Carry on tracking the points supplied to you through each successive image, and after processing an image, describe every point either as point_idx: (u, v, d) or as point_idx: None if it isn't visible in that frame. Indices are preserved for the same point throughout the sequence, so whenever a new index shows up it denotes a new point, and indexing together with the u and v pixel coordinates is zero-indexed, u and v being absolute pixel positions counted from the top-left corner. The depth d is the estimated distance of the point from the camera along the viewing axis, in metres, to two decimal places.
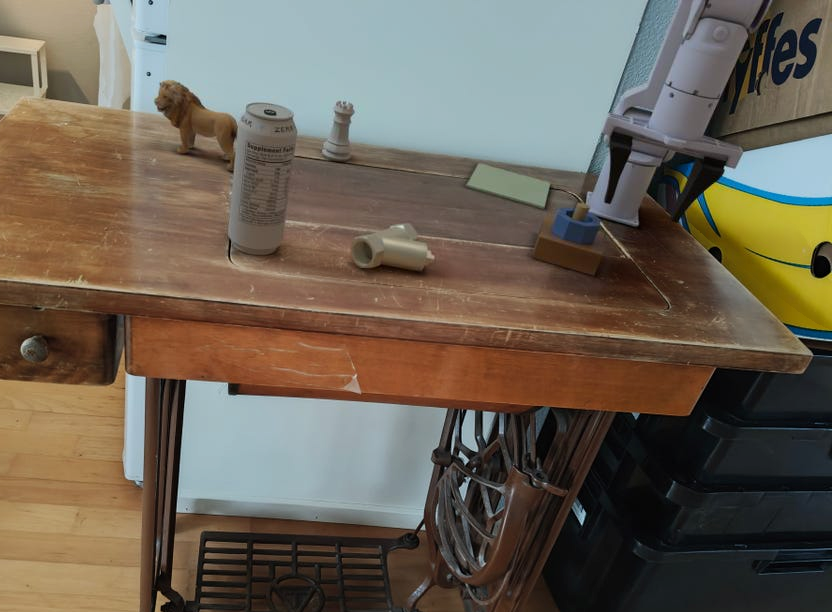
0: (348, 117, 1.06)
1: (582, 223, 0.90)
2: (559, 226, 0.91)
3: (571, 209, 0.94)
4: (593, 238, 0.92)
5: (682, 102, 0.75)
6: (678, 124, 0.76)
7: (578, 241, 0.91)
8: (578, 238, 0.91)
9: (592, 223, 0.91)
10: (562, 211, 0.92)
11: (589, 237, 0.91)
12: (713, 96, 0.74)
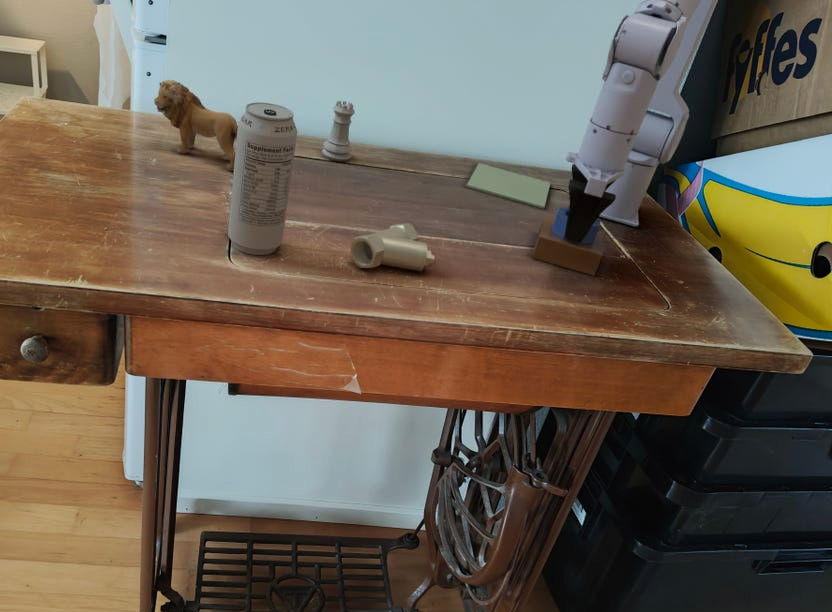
0: (348, 117, 1.06)
1: None
2: (559, 226, 0.91)
3: None
4: (593, 238, 0.92)
5: None
6: (581, 144, 0.88)
7: None
8: None
9: None
10: (562, 211, 0.92)
11: (589, 237, 0.91)
12: (625, 132, 0.83)
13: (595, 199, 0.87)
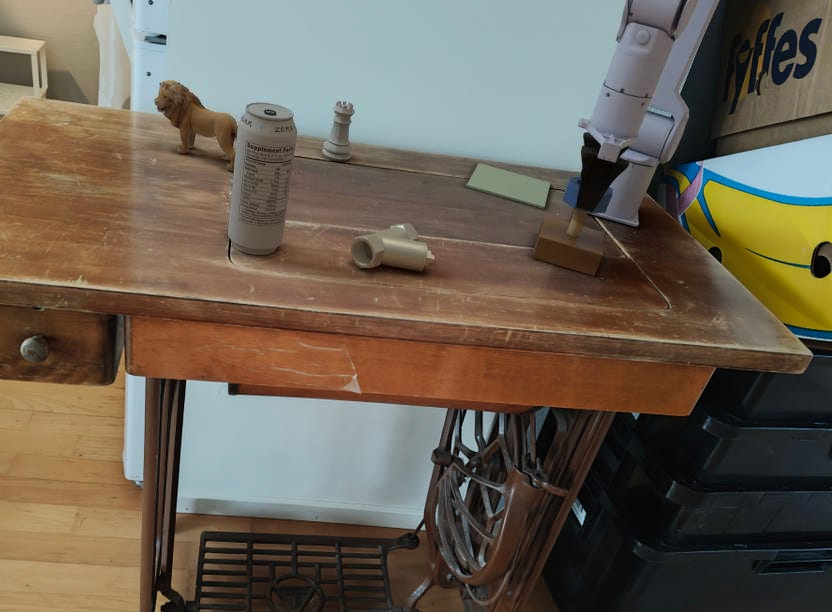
0: (348, 117, 1.06)
1: None
2: (570, 195, 0.89)
3: None
4: (605, 208, 0.89)
5: None
6: None
7: None
8: None
9: None
10: (573, 180, 0.90)
11: (601, 206, 0.89)
12: (640, 95, 0.81)
13: (608, 166, 0.85)
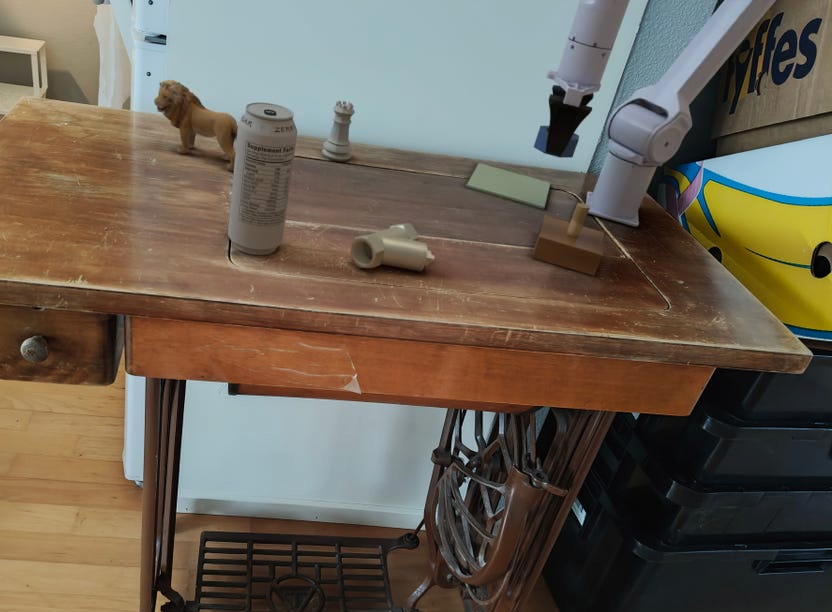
0: (348, 117, 1.06)
1: None
2: (540, 141, 0.98)
3: None
4: (572, 153, 0.98)
5: None
6: (560, 62, 0.95)
7: (558, 155, 0.98)
8: None
9: (571, 138, 0.97)
10: (543, 128, 0.99)
11: (568, 151, 0.98)
12: (587, 43, 0.90)
13: (573, 112, 0.94)
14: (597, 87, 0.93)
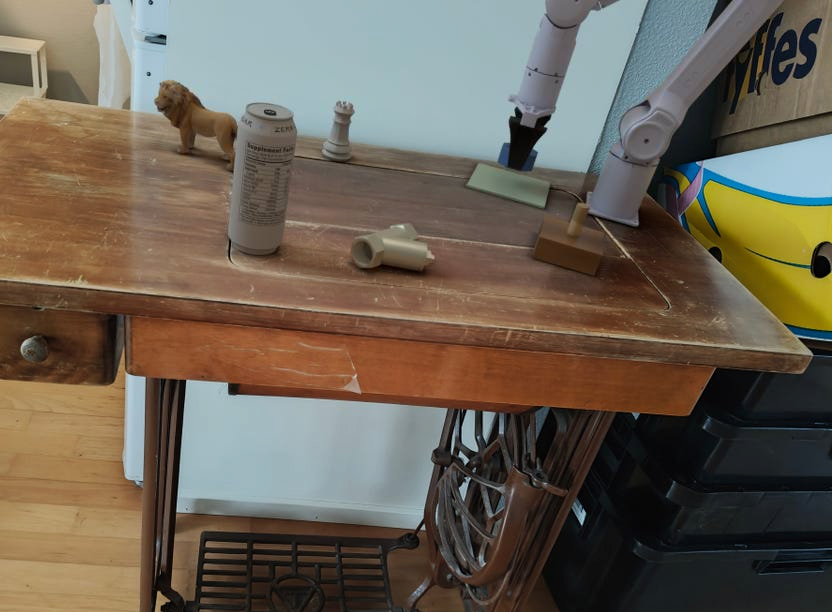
0: (348, 117, 1.06)
1: None
2: (503, 157, 1.10)
3: None
4: (531, 167, 1.10)
5: None
6: None
7: None
8: None
9: (530, 154, 1.09)
10: (506, 145, 1.11)
11: (528, 166, 1.09)
12: (531, 67, 1.02)
13: (531, 132, 1.05)
14: (552, 110, 1.05)
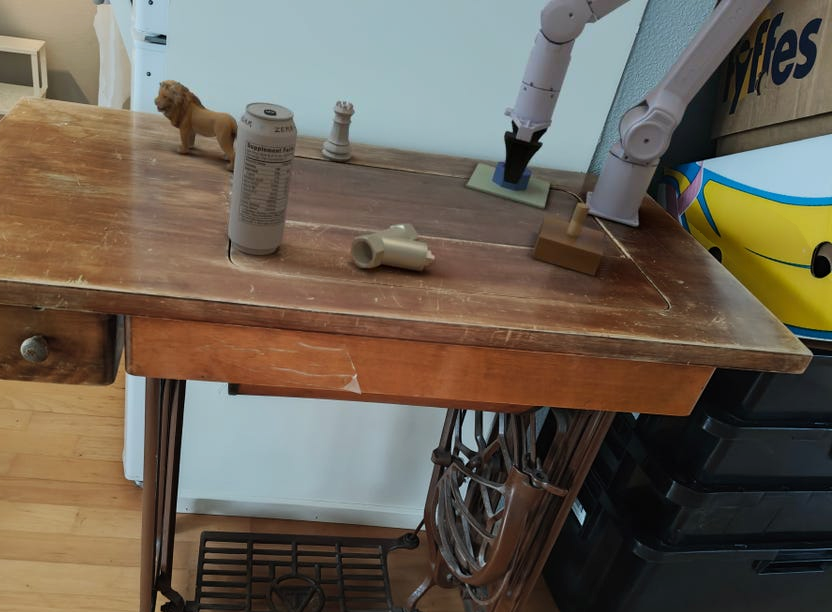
0: (348, 117, 1.06)
1: None
2: (497, 176, 1.12)
3: None
4: (525, 186, 1.12)
5: None
6: None
7: (513, 188, 1.11)
8: (512, 185, 1.11)
9: (524, 173, 1.11)
10: (500, 164, 1.12)
11: (522, 185, 1.11)
12: (526, 82, 1.04)
13: (526, 147, 1.06)
14: (548, 123, 1.06)
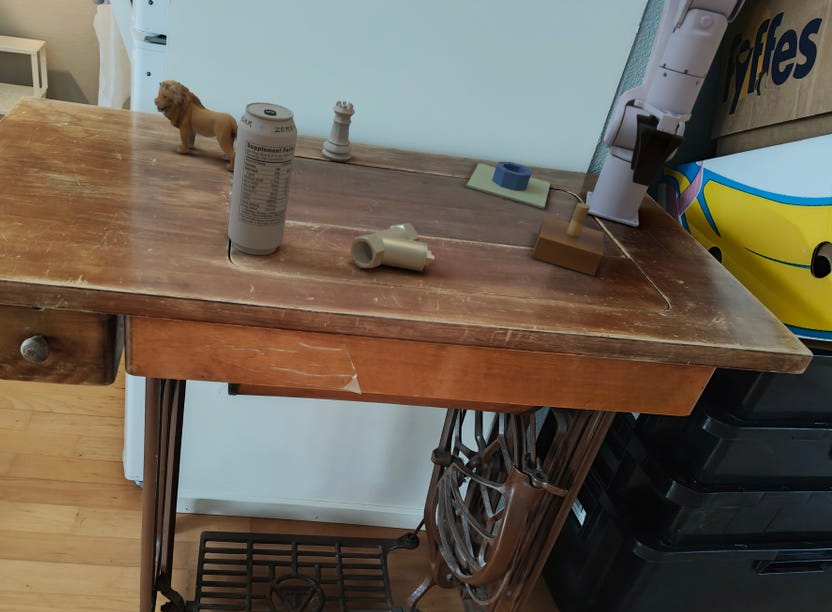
0: (348, 117, 1.06)
1: (515, 173, 1.10)
2: (497, 176, 1.12)
3: (508, 163, 1.14)
4: (525, 186, 1.12)
5: None
6: (649, 90, 0.93)
7: (513, 188, 1.11)
8: (512, 185, 1.11)
9: (524, 173, 1.11)
10: (500, 164, 1.12)
11: (522, 185, 1.11)
12: (700, 75, 0.88)
13: (664, 141, 0.91)
14: (688, 116, 0.91)
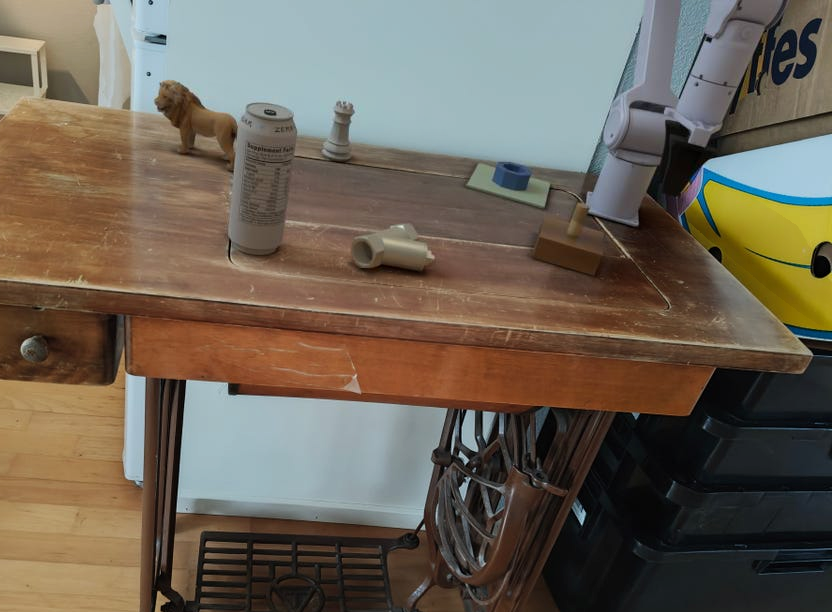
0: (348, 117, 1.06)
1: (515, 173, 1.10)
2: (497, 176, 1.12)
3: (508, 163, 1.14)
4: (525, 186, 1.12)
5: None
6: (679, 99, 0.91)
7: (513, 188, 1.11)
8: (512, 185, 1.11)
9: (524, 173, 1.11)
10: (500, 164, 1.12)
11: (522, 185, 1.11)
12: (737, 85, 0.87)
13: (695, 153, 0.89)
14: (720, 125, 0.90)
